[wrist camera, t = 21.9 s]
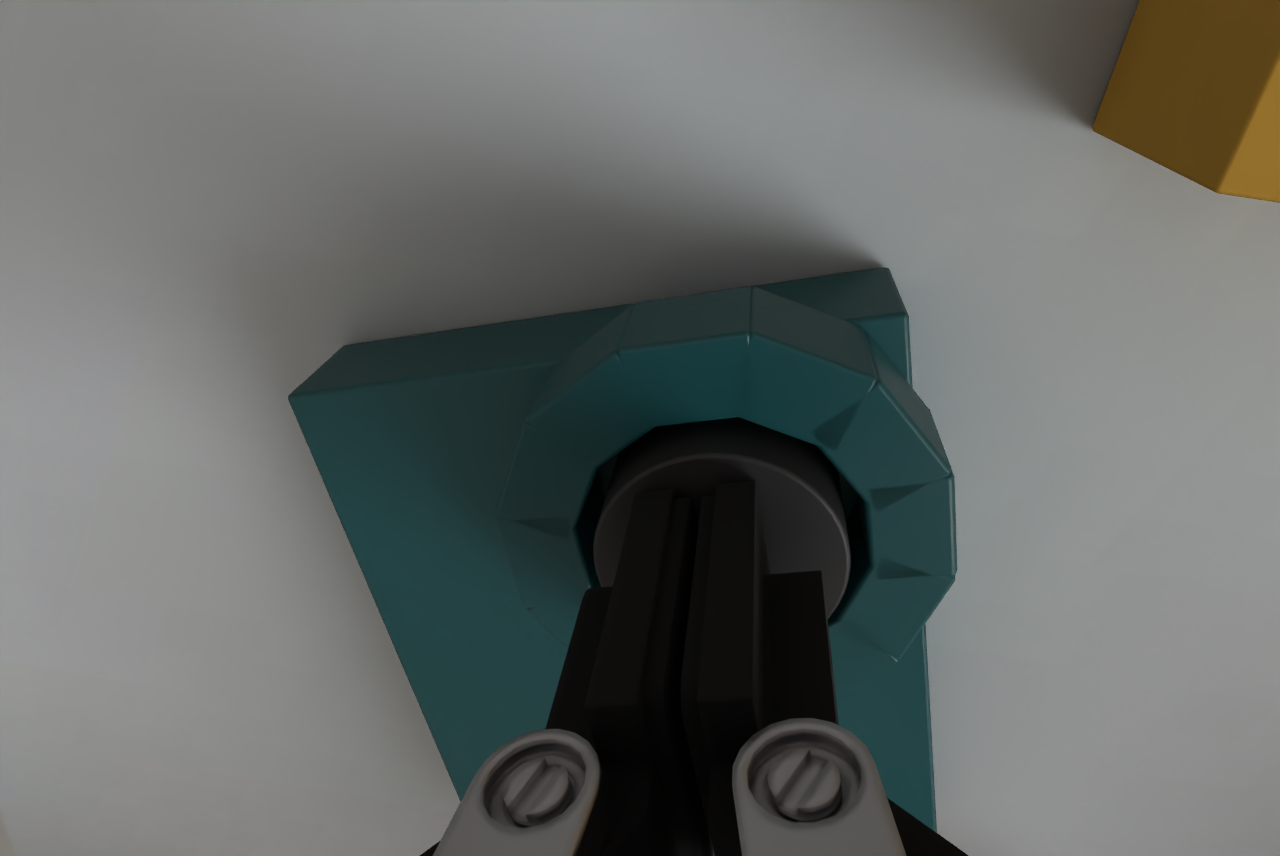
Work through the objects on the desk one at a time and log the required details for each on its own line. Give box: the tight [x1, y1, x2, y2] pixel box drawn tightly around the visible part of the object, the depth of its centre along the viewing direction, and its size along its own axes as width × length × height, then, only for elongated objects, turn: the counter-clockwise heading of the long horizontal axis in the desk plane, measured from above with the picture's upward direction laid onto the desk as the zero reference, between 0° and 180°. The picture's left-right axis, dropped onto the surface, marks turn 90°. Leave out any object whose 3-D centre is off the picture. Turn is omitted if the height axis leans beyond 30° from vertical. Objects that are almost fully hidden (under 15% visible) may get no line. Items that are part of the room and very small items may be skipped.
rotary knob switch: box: [288, 267, 957, 856], centre depth 16 cm, size 14×10×4 cm
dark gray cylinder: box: [593, 417, 851, 619], centre depth 13 cm, size 4×4×2 cm
